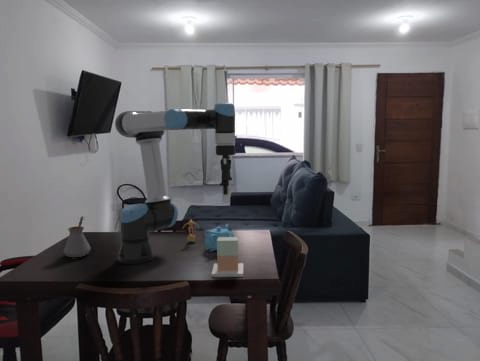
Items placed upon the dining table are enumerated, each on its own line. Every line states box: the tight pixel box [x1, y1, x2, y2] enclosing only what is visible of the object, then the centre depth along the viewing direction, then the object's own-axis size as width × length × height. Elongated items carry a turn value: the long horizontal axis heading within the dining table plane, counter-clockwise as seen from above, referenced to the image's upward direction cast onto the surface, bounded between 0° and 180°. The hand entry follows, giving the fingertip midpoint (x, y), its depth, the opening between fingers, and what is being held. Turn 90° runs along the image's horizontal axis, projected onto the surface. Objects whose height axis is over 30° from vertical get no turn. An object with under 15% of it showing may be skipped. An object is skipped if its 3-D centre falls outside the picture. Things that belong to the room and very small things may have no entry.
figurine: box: [182, 218, 200, 243], centre depth 203 cm, size 8×6×12 cm
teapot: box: [204, 223, 235, 253], centre depth 191 cm, size 13×14×11 cm
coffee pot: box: [63, 216, 91, 258], centre depth 190 cm, size 21×12×15 cm, turn 9°
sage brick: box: [216, 236, 239, 257], centre depth 161 cm, size 8×5×6 cm, turn 89°
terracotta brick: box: [216, 255, 239, 271], centre depth 162 cm, size 8×5×6 cm, turn 89°
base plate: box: [211, 262, 244, 278], centre depth 162 cm, size 12×12×1 cm
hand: (226, 199), depth 159 cm, fingers open, 13 cm apart
